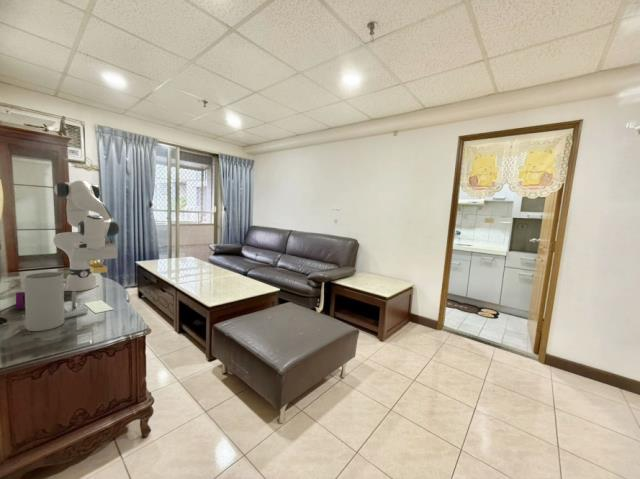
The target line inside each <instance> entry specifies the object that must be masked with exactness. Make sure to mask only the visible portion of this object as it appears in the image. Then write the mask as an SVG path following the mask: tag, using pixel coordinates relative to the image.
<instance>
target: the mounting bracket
mask: <svg viewBox="0 0 640 479" xmlns="http://www.w3.org/2000/svg"><path fill="white" fill-rule="evenodd" d="M15 308H16V310H17V311H18V310H19V311H20V310H24V309H25V291H22V292H16V294H15Z"/></svg>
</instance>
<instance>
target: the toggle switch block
mask: <svg viewBox="0 0 640 479" xmlns="http://www.w3.org/2000/svg"><path fill="white" fill-rule="evenodd" d="M86 314H87V315H88V314H89V308H88V307H87V306H86V305H85V304H84V303H82V302H81V301H80V300H79V299H77V291H71V300H69V301H68V300H67V301H64V319H68V318H73V317H77V316H82V315H86Z"/></svg>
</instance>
